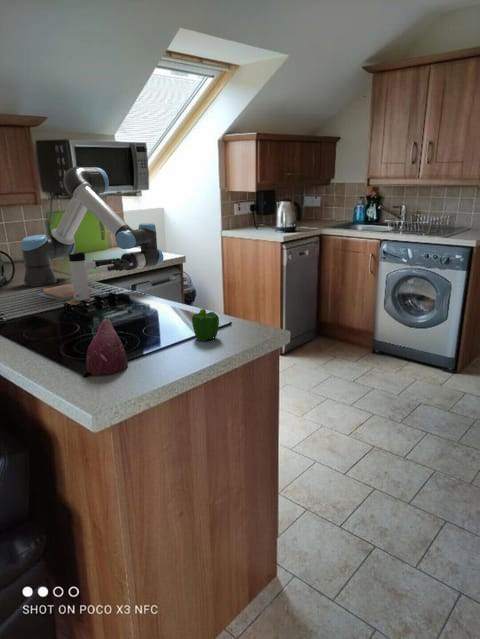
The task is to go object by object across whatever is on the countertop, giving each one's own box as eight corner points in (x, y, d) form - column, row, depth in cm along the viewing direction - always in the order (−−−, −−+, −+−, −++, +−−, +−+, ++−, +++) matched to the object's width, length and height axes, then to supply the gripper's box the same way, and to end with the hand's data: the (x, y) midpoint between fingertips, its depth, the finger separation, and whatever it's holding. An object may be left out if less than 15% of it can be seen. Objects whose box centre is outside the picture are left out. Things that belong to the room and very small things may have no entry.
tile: (71, 283, 216) (43, 288, 206) (91, 287, 206) (62, 293, 196) (72, 287, 217) (43, 293, 206) (91, 292, 207) (63, 298, 196)
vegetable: (102, 371, 128) (98, 317, 128) (135, 370, 125) (131, 315, 125) (78, 377, 118) (73, 318, 118) (113, 376, 115) (108, 315, 115)
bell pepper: (205, 332, 149) (204, 302, 146) (224, 337, 144) (223, 306, 141) (186, 339, 143) (184, 308, 140) (206, 344, 138) (204, 312, 135)
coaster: (69, 300, 195) (68, 298, 195) (98, 298, 197) (98, 296, 197) (64, 307, 184) (63, 305, 183) (95, 305, 186) (95, 303, 185)
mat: (80, 286, 222) (80, 285, 222) (104, 291, 210) (104, 290, 209) (36, 295, 206) (36, 294, 206) (60, 301, 193) (59, 300, 193)
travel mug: (79, 303, 185) (73, 253, 180) (71, 301, 190) (65, 252, 184) (93, 300, 190) (88, 251, 184) (85, 298, 194) (79, 250, 188)
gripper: (151, 272, 199) (109, 280, 184) (116, 266, 215) (75, 274, 199) (149, 254, 197) (107, 261, 182) (115, 250, 213) (73, 256, 197)
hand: (90, 268), depth 190 cm, fingers open, 13 cm apart
